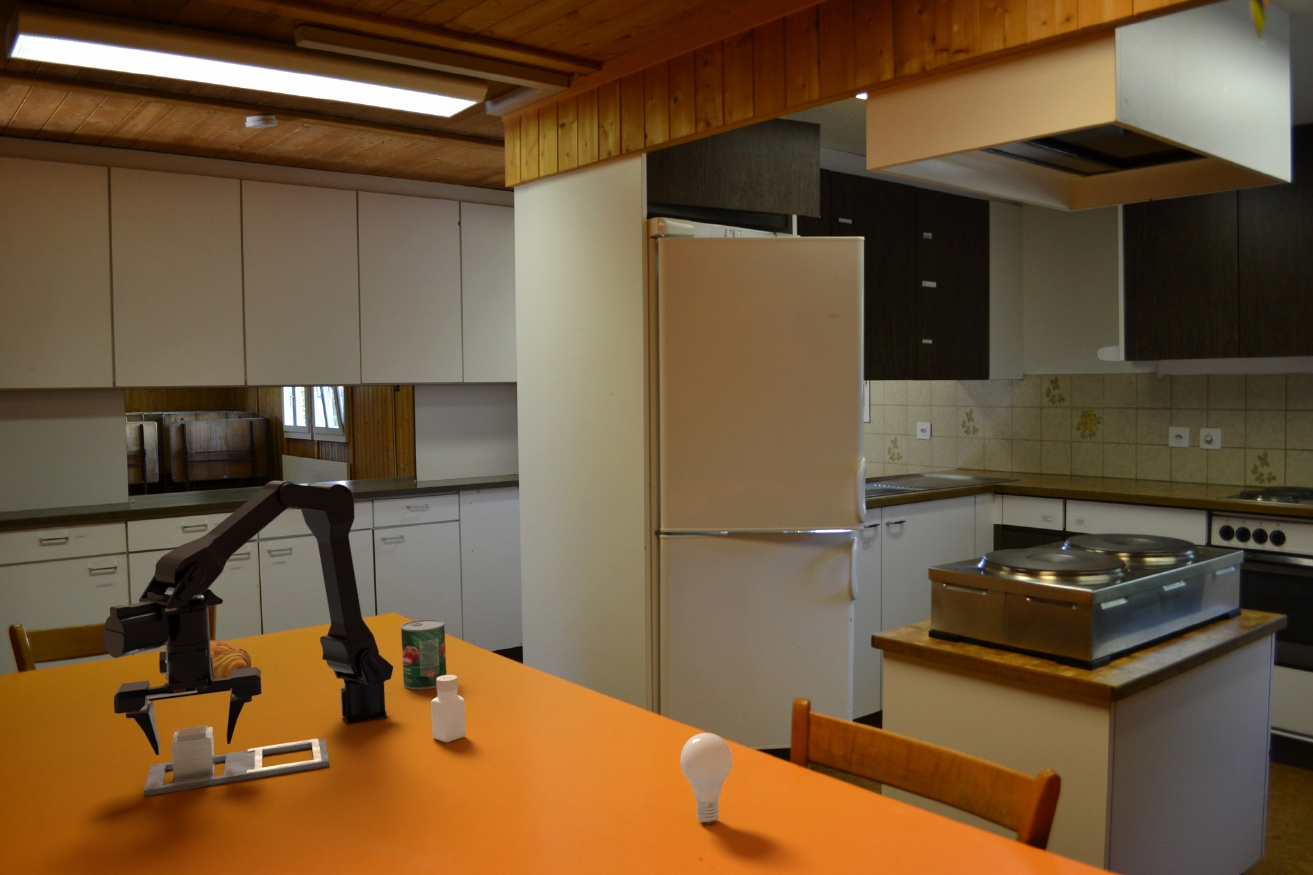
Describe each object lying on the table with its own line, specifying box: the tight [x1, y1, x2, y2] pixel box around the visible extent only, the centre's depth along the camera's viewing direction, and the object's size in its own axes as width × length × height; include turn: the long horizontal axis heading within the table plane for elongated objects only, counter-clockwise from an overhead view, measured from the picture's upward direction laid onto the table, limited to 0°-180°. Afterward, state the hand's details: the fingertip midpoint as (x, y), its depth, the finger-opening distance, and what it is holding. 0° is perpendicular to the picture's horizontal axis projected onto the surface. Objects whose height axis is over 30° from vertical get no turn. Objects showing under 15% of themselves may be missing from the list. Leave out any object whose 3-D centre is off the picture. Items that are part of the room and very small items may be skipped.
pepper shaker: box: [430, 674, 467, 743], centre depth 153 cm, size 4×4×10 cm
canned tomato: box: [400, 619, 448, 690], centre depth 182 cm, size 8×8×11 cm
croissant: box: [165, 639, 252, 688], centre depth 190 cm, size 14×16×8 cm
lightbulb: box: [679, 732, 733, 824], centre depth 121 cm, size 6×6×11 cm
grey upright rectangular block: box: [171, 724, 216, 783], centre depth 141 cm, size 5×5×7 cm
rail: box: [143, 738, 330, 797], centre depth 143 cm, size 24×10×1 cm, turn 112°
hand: (193, 748), depth 141 cm, fingers open, 9 cm apart
